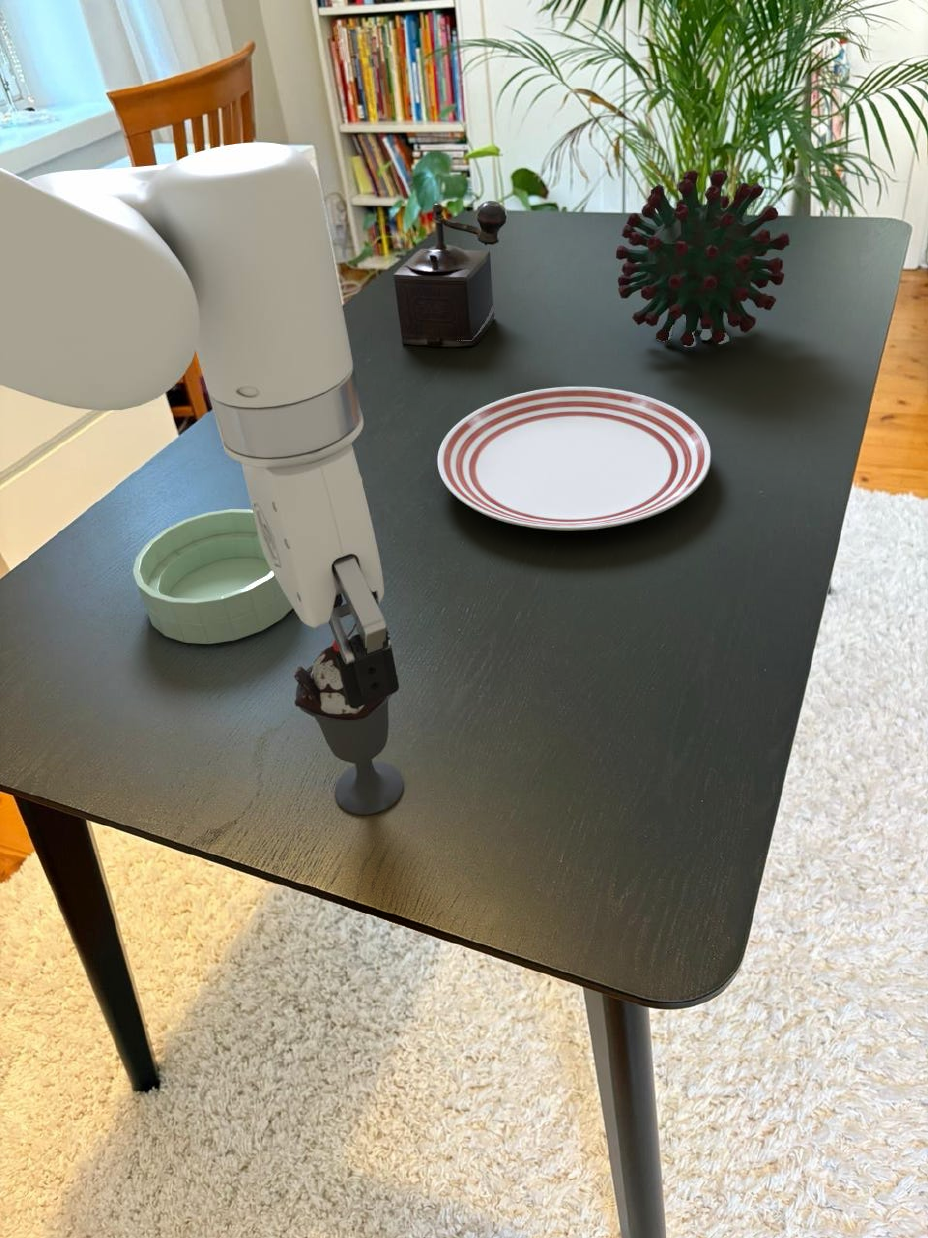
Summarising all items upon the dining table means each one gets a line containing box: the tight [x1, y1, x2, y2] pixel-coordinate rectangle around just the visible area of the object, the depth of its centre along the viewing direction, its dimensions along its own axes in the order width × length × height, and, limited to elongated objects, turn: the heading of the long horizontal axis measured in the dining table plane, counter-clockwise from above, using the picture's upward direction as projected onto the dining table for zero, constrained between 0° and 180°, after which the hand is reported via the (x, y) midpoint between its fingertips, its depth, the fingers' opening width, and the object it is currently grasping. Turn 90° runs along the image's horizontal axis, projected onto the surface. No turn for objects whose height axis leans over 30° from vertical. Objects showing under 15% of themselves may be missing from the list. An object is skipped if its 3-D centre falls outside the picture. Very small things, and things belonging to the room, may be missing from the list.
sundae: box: [293, 622, 404, 816], centre depth 65 cm, size 7×7×15 cm
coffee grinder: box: [393, 200, 508, 348], centre depth 126 cm, size 16×11×18 cm
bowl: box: [132, 508, 294, 645], centre depth 87 cm, size 14×14×5 cm
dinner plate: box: [437, 386, 712, 532], centre depth 99 cm, size 27×27×3 cm
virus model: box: [615, 169, 790, 346], centre depth 117 cm, size 20×20×20 cm
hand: (345, 651), depth 62 cm, fingers open, 9 cm apart
